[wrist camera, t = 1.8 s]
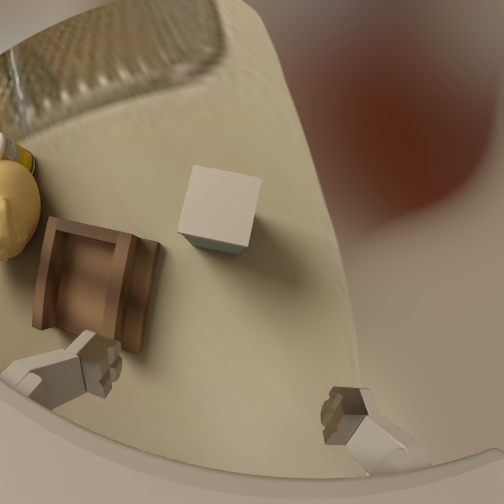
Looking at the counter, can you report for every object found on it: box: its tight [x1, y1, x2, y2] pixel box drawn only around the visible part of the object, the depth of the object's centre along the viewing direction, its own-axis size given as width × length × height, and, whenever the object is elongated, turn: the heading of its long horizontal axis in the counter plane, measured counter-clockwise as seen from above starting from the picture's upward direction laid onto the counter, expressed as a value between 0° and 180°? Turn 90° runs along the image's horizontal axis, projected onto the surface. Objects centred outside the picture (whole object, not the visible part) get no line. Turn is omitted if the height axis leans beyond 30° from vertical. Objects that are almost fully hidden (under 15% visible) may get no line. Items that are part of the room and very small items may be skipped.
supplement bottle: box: [0, 132, 35, 175], centre depth 23 cm, size 6×6×10 cm
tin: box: [177, 165, 262, 255], centre depth 26 cm, size 5×5×10 cm
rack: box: [32, 216, 160, 354], centre depth 26 cm, size 12×14×4 cm
